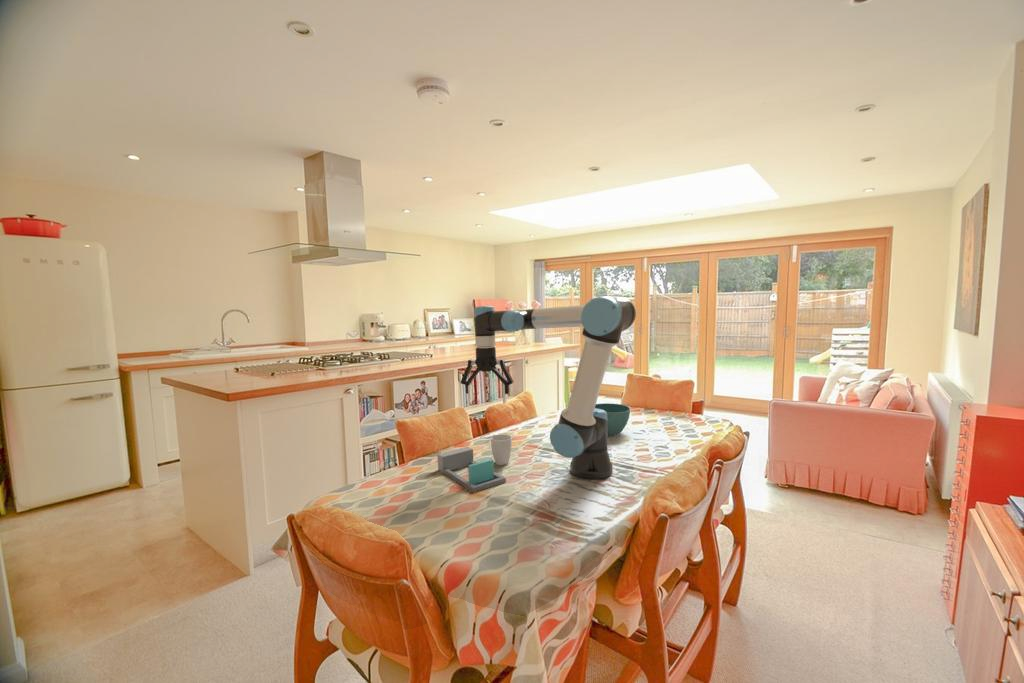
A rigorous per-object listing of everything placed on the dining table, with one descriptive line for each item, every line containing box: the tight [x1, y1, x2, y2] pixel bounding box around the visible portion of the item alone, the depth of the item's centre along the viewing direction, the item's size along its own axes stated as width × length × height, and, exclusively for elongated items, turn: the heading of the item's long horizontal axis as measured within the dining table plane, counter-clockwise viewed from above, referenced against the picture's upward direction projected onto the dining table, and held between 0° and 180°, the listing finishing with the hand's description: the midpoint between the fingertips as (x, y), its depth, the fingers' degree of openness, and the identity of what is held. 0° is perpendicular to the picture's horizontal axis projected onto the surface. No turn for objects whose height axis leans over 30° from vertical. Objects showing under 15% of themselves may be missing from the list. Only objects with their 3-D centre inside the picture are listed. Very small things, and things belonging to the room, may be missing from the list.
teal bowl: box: [595, 402, 631, 437], centre depth 202 cm, size 18×18×12 cm
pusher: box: [467, 458, 495, 485], centre depth 152 cm, size 5×9×7 cm, turn 126°
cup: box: [490, 433, 513, 466], centre depth 168 cm, size 8×8×10 cm
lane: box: [437, 446, 507, 493], centre depth 157 cm, size 26×13×6 cm, turn 36°
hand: (487, 402), depth 166 cm, fingers open, 13 cm apart
